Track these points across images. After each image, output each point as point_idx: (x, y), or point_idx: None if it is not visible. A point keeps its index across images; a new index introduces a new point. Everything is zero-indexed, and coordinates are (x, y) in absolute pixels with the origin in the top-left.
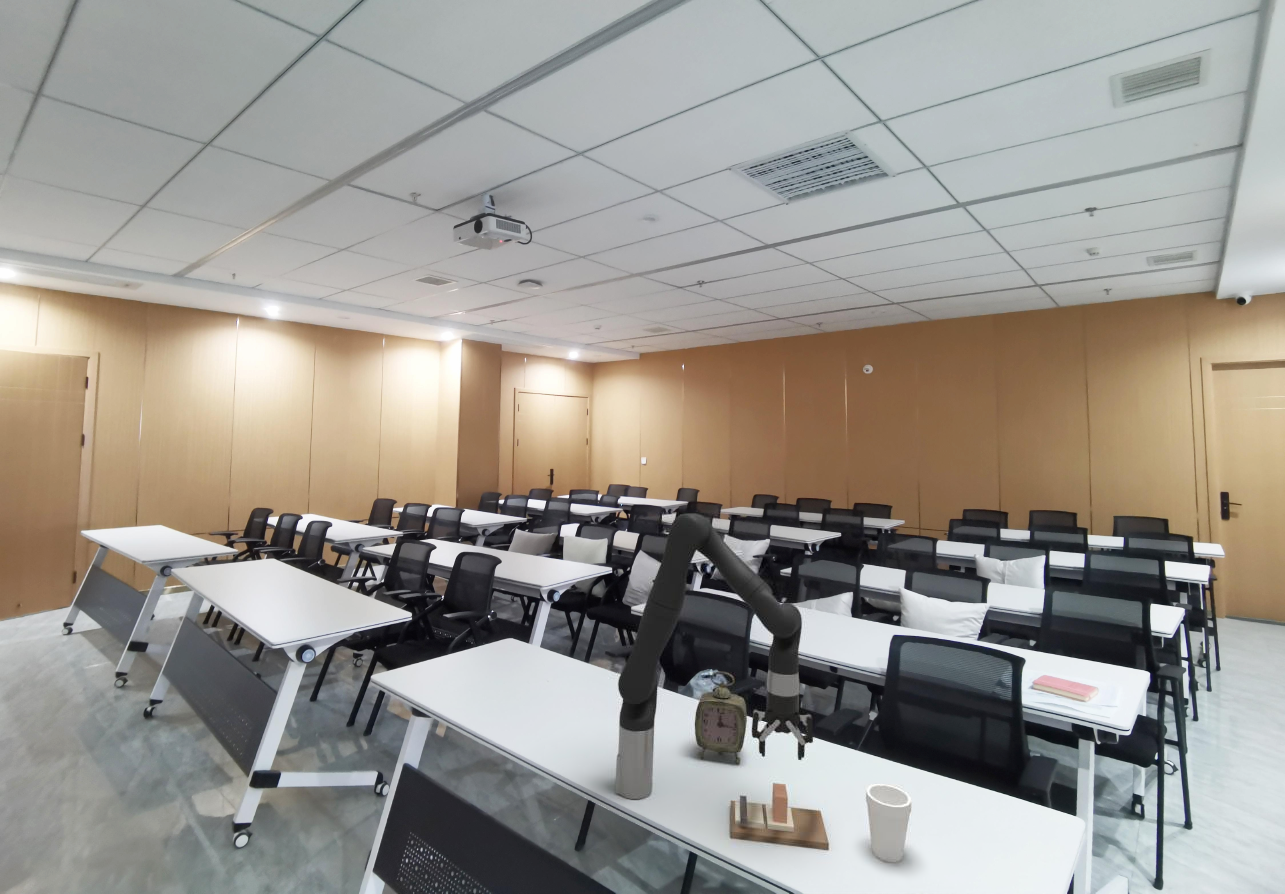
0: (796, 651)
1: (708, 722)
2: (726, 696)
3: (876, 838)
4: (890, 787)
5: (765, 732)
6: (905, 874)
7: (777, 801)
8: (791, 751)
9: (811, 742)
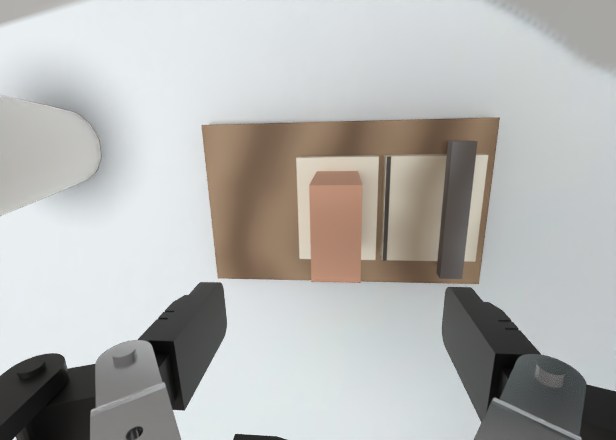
0: None
1: None
2: None
3: (50, 117)
4: None
5: (561, 431)
6: (24, 63)
7: (349, 182)
8: None
9: (39, 355)
